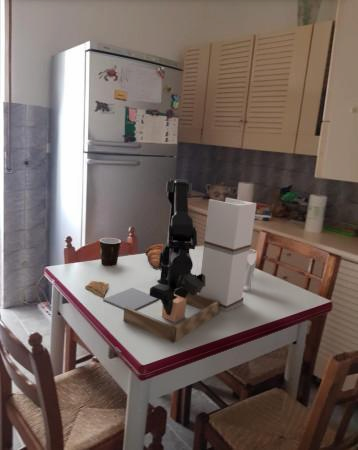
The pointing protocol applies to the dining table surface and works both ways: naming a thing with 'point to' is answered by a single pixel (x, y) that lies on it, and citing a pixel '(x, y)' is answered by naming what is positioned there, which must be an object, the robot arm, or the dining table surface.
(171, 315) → the terracotta block
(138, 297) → the slate mat
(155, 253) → the pastry
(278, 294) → the dining table surface
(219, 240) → the banded white pillar
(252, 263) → the beer glass
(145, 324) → the walnut u-shaped frame
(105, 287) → the shard
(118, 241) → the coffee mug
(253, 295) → the dining table surface
